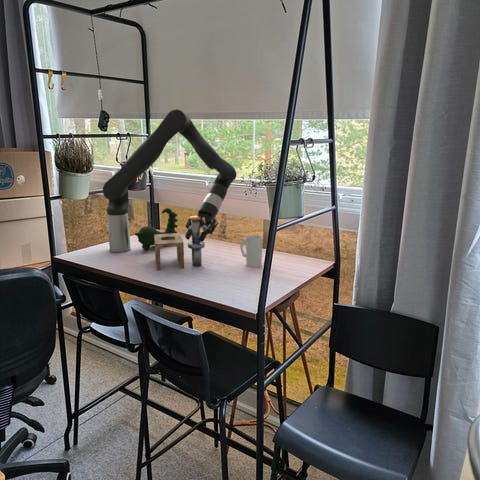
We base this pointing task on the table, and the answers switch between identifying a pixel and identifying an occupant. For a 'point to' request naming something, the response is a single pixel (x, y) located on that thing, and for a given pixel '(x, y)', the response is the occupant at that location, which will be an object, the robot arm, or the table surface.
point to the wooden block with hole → (169, 241)
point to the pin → (196, 241)
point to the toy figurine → (148, 232)
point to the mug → (252, 250)
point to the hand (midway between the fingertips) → (193, 239)
